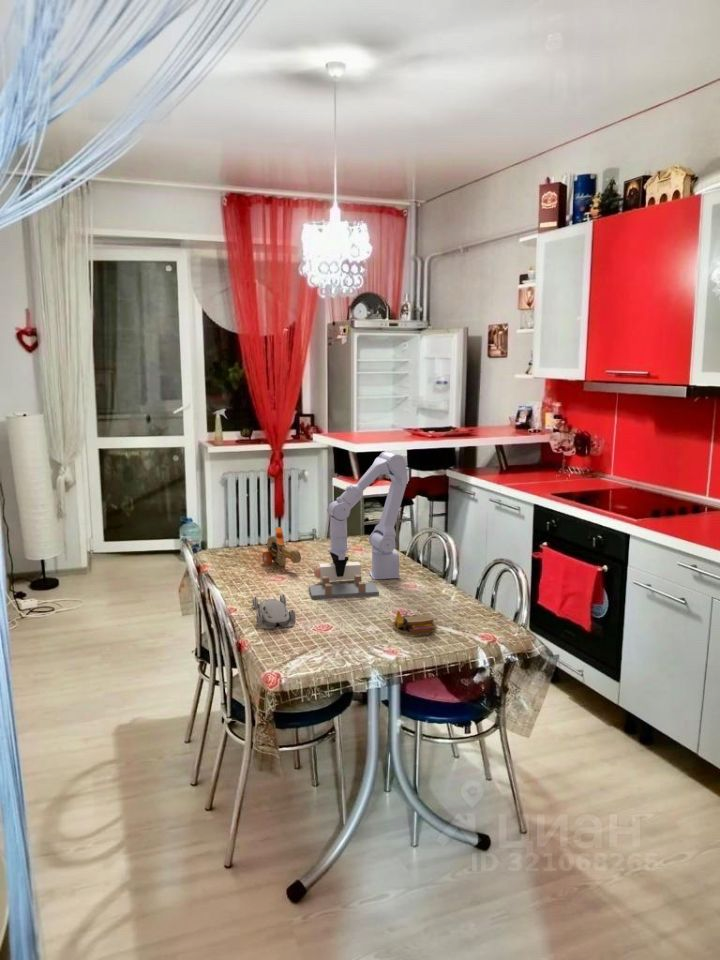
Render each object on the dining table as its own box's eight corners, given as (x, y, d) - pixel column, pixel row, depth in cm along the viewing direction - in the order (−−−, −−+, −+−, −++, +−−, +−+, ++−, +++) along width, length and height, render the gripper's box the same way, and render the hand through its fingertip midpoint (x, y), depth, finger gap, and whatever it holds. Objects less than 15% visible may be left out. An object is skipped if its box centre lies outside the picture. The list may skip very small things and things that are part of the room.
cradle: (373, 585, 246) (373, 573, 246) (379, 595, 236) (379, 583, 236) (309, 588, 243) (308, 577, 242) (312, 599, 233) (311, 586, 232)
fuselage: (359, 575, 253) (359, 561, 252) (360, 578, 249) (360, 564, 248) (313, 578, 251) (313, 564, 250) (314, 581, 247) (314, 567, 246)
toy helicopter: (278, 558, 278) (278, 523, 276) (309, 571, 262) (308, 534, 260) (260, 562, 273) (259, 527, 271) (290, 575, 257) (289, 538, 255)
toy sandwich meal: (432, 620, 215) (433, 605, 214) (439, 638, 202) (439, 622, 201) (390, 621, 215) (391, 605, 214) (394, 639, 202) (395, 622, 201)
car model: (285, 602, 231) (285, 587, 230) (298, 630, 208) (298, 614, 207) (250, 605, 228) (250, 590, 228) (260, 634, 205) (259, 617, 204)
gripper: (324, 531, 254) (325, 568, 256) (329, 542, 240) (330, 581, 242) (344, 530, 255) (344, 567, 257) (350, 541, 241) (351, 580, 243)
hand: (339, 574), depth 250 cm, fingers closed on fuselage, 4 cm apart
